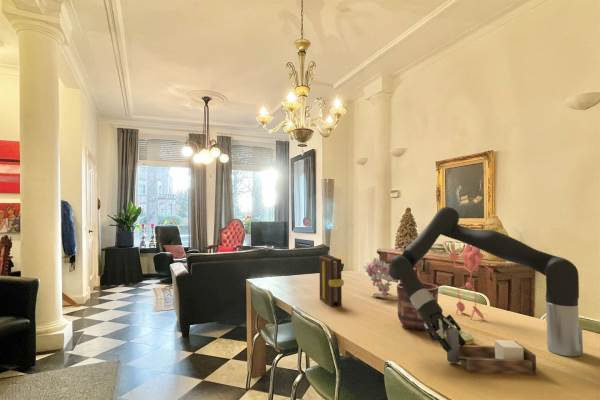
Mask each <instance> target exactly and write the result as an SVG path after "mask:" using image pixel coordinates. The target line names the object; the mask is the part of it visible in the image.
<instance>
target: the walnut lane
mask: <svg viewBox="0 0 600 400" xmlns="http://www.w3.org/2000/svg"><path fill="white" fill-rule="evenodd" d="M514 341H515V342H516V343H517V344H519V345H520V346H522V347H523V353H524V360H510V359H495V345H494V346H493V345H464V346H462V347H461V346H460V345H459V357H468V358H466V361H459V363H460V364H461V366H462V367H463V369H465V371H466V372H467V373H468V372H470V373H471V374H473V373H474V374H492V373H493V375H495V374H497V375H498V374H499V375H516V374H527V375H526V376H537V360H536V359H537V358H536V357H537V356H536V354H535V353H533V352H532V351H530V350H528V349H527V348H526V347H525V346H523V345H522V344H520V343H519V342H517V341H516V340H514ZM484 358H494V359H484Z"/></svg>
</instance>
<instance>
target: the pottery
mask: <svg viewBox="0 0 600 400" xmlns="http://www.w3.org/2000/svg"><path fill="white" fill-rule="evenodd" d="M421 283H422V284H423V285H424V287H425V288H426V289H427V290H428V291H429V292H430V294H431V295H432V296H433V298H434V299H435V300H436V302H437V303H438V304H439V300H438V299H439V289H440V288H439V286H438V285H436V284H432V283H428V282H422V281H421ZM396 293H397V317H398V319H399V321H400V323H401V324H402V325H403V327H404V328H406V329H408V330H412V331H417V332H424V331H425V332H426V330H425V329H424V327H423V324H424V323H425V321H424V320H423V319H422V317H421V316H420V314H419V313H418V312H417V310H416V309H415V307H414V306H413V304H412V302H411V300H410V299H409V297H408V296H407V294H406V293H405V291H404V290H403V288H402V282H399V283H397V284H396Z"/></svg>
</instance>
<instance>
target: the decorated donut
mask: <svg viewBox="0 0 600 400" xmlns="http://www.w3.org/2000/svg"><path fill="white" fill-rule="evenodd" d="M459 333H460V335H461V336H462V338H463V339H464V340H465V342H466V344H465V345H471V346H473V344H474V341H475V339H474V338H475V336H473V334H471V333H469V332H466V331H462V330H460V332H459ZM443 337H444V338H445V339H446V341H447V332H443ZM444 338H443V339H444Z"/></svg>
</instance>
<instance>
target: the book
mask: <svg viewBox="0 0 600 400" xmlns="http://www.w3.org/2000/svg"><path fill="white" fill-rule="evenodd" d="M318 259H319V261H318V262H319V270H318V271H319V300H320V301H322V302H323V303H325V304H327V305H328V306H329V307H331V308H333V307H334V308H335V305H337V306H338V307H341V306H342V305H343V301H342V295H343V293H342V291H343V290H342V287H343V286H344V282H345V281H344V279H342V259H341V258H338V257H335V256H331V255H319V257H318Z"/></svg>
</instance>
